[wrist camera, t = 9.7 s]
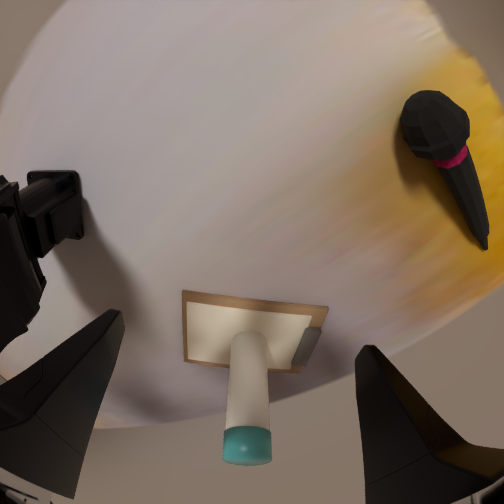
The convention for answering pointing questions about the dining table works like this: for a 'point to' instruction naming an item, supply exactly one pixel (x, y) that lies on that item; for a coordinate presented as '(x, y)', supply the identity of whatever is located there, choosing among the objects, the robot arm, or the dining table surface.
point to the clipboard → (249, 329)
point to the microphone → (447, 152)
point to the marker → (248, 403)
